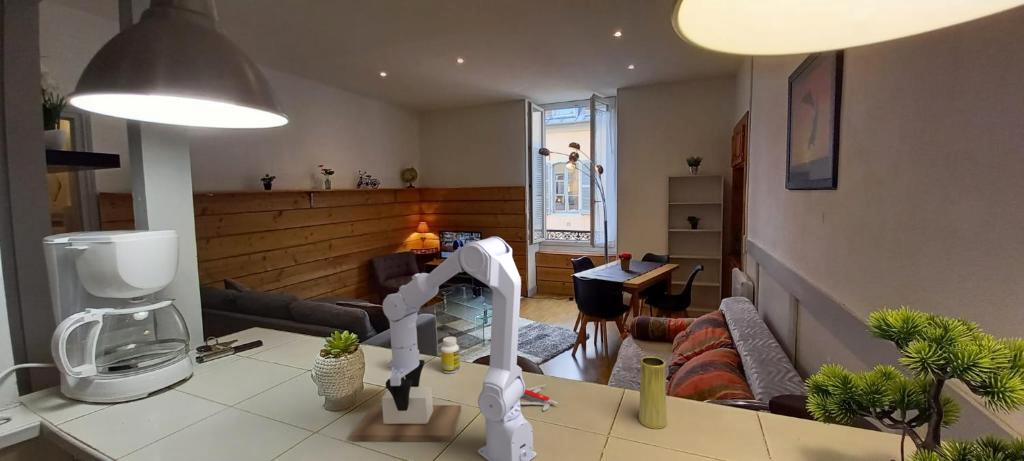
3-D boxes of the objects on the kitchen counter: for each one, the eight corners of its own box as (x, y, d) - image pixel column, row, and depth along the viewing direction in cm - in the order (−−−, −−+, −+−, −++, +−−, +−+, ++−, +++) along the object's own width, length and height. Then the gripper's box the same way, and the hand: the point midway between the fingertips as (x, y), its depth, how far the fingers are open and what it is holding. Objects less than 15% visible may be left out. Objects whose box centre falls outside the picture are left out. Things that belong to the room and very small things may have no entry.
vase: (649, 431, 86) (649, 368, 85) (633, 416, 92) (633, 357, 91) (672, 426, 88) (673, 364, 87) (656, 411, 94) (656, 353, 92)
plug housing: (433, 411, 94) (431, 386, 93) (427, 423, 89) (425, 397, 88) (391, 411, 94) (389, 387, 94) (383, 423, 89) (381, 398, 89)
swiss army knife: (569, 397, 102) (569, 390, 102) (541, 421, 91) (541, 413, 91) (533, 385, 109) (533, 378, 109) (502, 407, 98) (502, 399, 98)
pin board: (461, 410, 97) (460, 393, 97) (451, 441, 85) (450, 422, 85) (373, 411, 98) (372, 393, 98) (351, 441, 86) (349, 422, 86)
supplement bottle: (456, 374, 116) (454, 342, 115) (439, 373, 118) (437, 341, 117) (462, 366, 122) (460, 335, 121) (445, 365, 123) (444, 335, 122)
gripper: (398, 332, 97) (401, 385, 99) (374, 357, 83) (378, 418, 84) (426, 332, 97) (429, 385, 98) (407, 356, 82) (411, 418, 84)
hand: (408, 400), depth 91 cm, fingers open, 7 cm apart
